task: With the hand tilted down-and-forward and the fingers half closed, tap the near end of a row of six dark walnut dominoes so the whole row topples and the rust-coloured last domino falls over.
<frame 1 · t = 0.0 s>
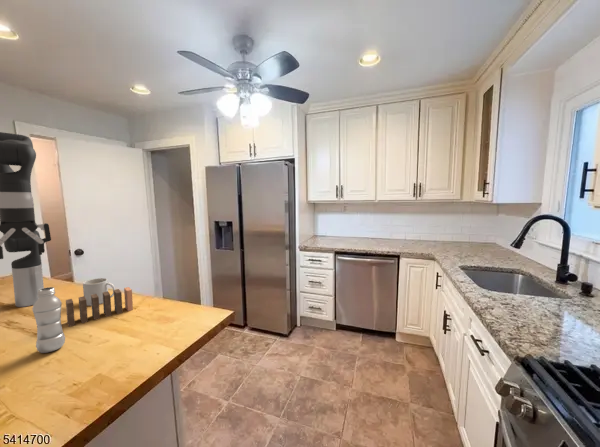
hand: (21, 256, 82), 29 cm above the countertop, tool pointing down, fingers open, 8 cm apart
domino 3: (96, 317, 103), on the countertop
domino 5: (118, 311, 109), on the countertop
domino 4: (107, 314, 106), on the countertop
domino 6: (129, 308, 111), on the countertop
mug: (98, 302, 118), on the countertop
domino 2: (83, 320, 101), on the countertop
domino 1: (71, 323, 98), on the countertop
plastic bottle: (51, 350, 81), on the countertop
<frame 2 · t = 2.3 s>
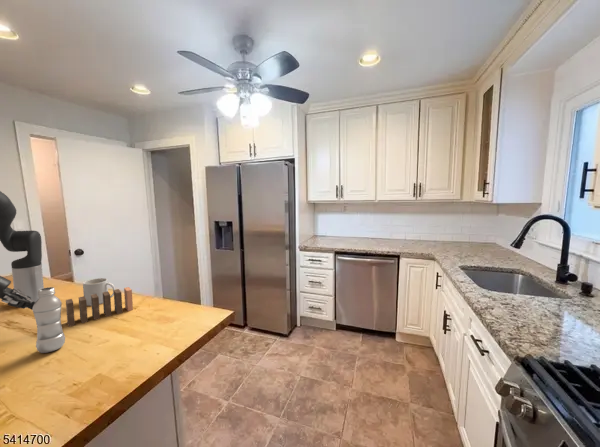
hand: (41, 309, 91), 8 cm above the countertop, tool tilted 45°, fingers closed
nothing on the countertop moved.
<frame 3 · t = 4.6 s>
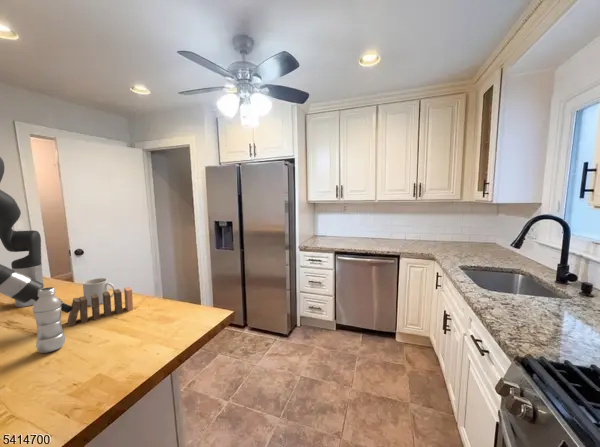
hand: (70, 310, 97), 5 cm above the countertop, tool tilted 45°, fingers closed
domino 1: (71, 323, 98), on the countertop, tilted 15°, touching gripper
everything else where it was.
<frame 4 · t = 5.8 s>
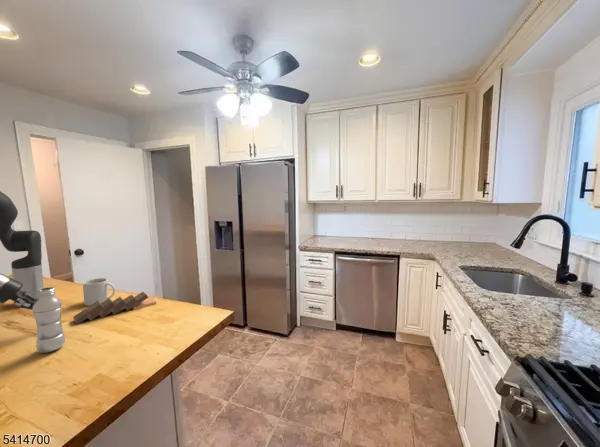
hand: (51, 310, 94), 7 cm above the countertop, tool tilted 45°, fingers closed
domino 3: (99, 314, 104), point 1 cm above the countertop, tilted 64°, touching domino 2
domino 5: (124, 307, 110), point 1 cm above the countertop, tilted 66°, touching domino 4, domino 6
domino 4: (111, 311, 107), point 1 cm above the countertop, tilted 66°, touching domino 5
domino 6: (132, 307, 112), on the countertop, tilted 90°, touching domino 5
domino 2: (88, 317, 101), point 1 cm above the countertop, tilted 61°, touching domino 1, domino 3
domino 1: (75, 320, 99), point 1 cm above the countertop, tilted 61°, touching domino 2
everything else where it was.
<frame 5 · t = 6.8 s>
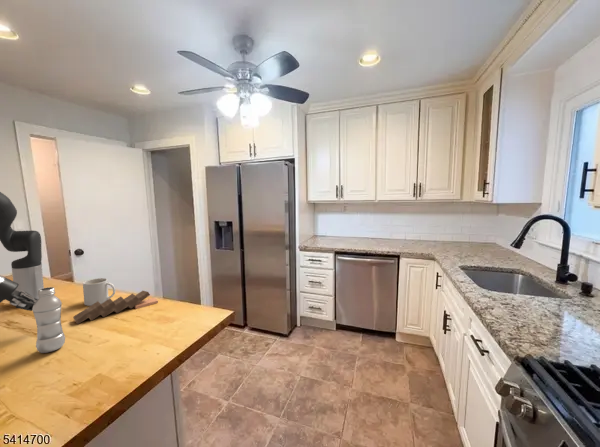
hand: (48, 311, 93), 7 cm above the countertop, tool tilted 45°, fingers closed
domino 5: (127, 306, 112), point 1 cm above the countertop, tilted 67°, touching domino 4, domino 6
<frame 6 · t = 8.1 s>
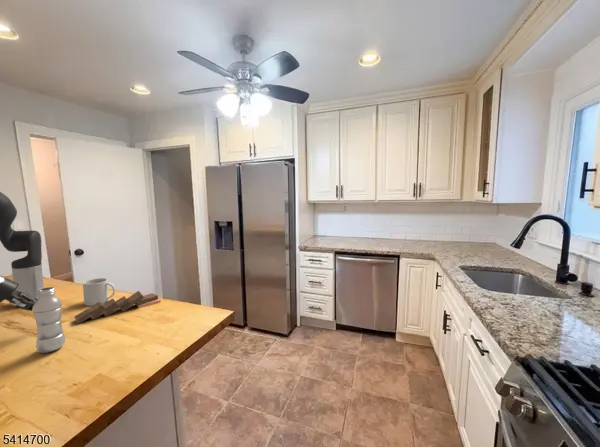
hand: (48, 311, 93), 7 cm above the countertop, tool tilted 45°, fingers closed
domino 3: (103, 313, 105), point 1 cm above the countertop, tilted 65°
domino 5: (134, 302, 113), point 2 cm above the countertop, tilted 90°, touching domino 4, domino 6
domino 4: (120, 307, 110), point 1 cm above the countertop, tilted 62°, touching domino 5
domino 6: (137, 305, 114), on the countertop, tilted 90°, touching domino 5
domino 2: (91, 316, 102), point 1 cm above the countertop, tilted 65°
domino 1: (76, 320, 99), point 1 cm above the countertop, tilted 66°
everything else where it was.
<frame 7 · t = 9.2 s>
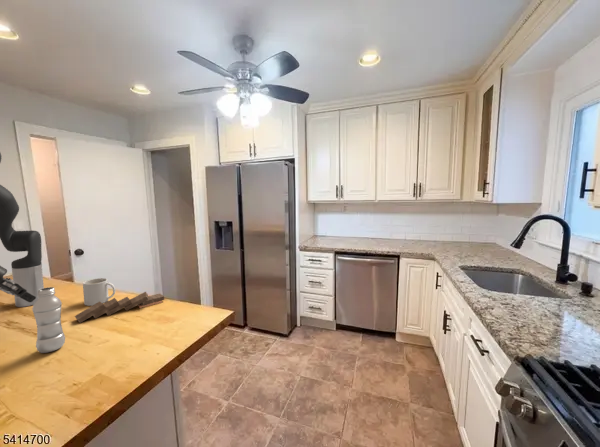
hand: (32, 299, 92), 11 cm above the countertop, tool tilted 40°, fingers closed
domino 3: (105, 312, 106), point 1 cm above the countertop, tilted 70°, touching domino 2, domino 4
domino 5: (140, 302, 114), point 2 cm above the countertop, tilted 90°, touching domino 6
domino 4: (125, 306, 111), point 1 cm above the countertop, tilted 67°, touching domino 3
domino 2: (92, 315, 103), point 1 cm above the countertop, tilted 67°, touching domino 1, domino 3
domino 1: (77, 319, 99), point 1 cm above the countertop, tilted 68°, touching domino 2
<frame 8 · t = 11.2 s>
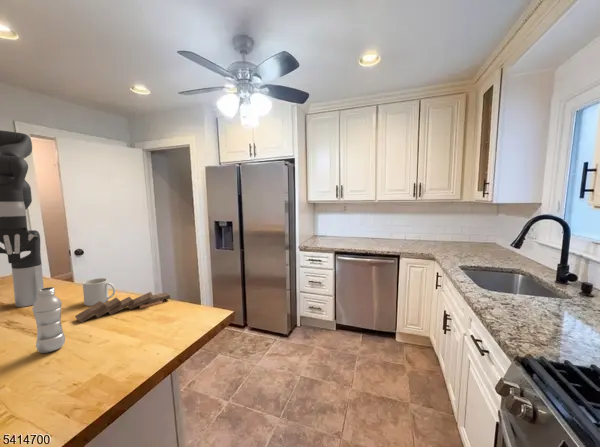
hand: (14, 264, 89), 25 cm above the countertop, tool pointing down, fingers closed
domino 3: (108, 311, 107), point 1 cm above the countertop, tilted 73°, touching domino 2
domino 5: (147, 300, 116), point 2 cm above the countertop, tilted 90°, touching domino 6
domino 4: (129, 305, 112), point 1 cm above the countertop, tilted 70°
at the end: domino 6 tilted 90°; domino 1 tilted 68° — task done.
